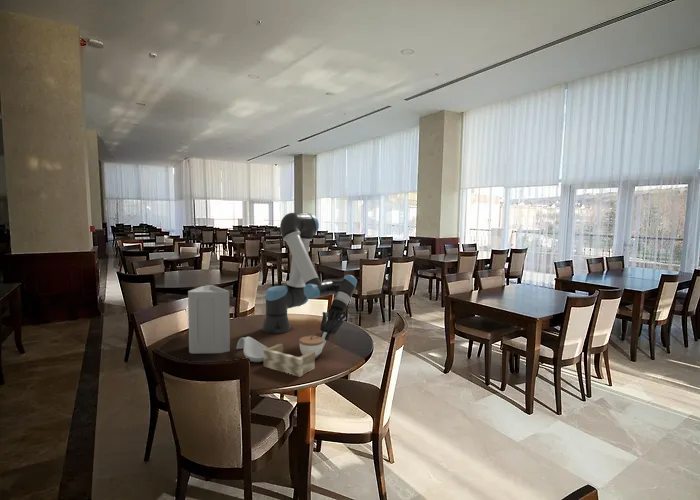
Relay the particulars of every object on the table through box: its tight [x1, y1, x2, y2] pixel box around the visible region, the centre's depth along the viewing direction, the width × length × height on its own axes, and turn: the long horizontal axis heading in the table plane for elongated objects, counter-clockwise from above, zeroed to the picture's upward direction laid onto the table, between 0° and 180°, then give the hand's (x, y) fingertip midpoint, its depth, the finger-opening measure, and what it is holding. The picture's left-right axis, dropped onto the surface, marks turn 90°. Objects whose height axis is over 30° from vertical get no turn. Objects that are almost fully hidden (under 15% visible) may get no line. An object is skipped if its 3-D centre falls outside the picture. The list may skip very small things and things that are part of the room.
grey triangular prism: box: [187, 284, 231, 354], centre depth 177 cm, size 19×15×28 cm
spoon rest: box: [236, 336, 269, 363], centre depth 171 cm, size 24×12×7 cm, turn 40°
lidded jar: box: [298, 335, 324, 359], centre depth 172 cm, size 11×11×9 cm
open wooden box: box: [263, 343, 316, 378], centre depth 159 cm, size 19×10×7 cm, turn 59°
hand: (320, 345), depth 177 cm, fingers closed
